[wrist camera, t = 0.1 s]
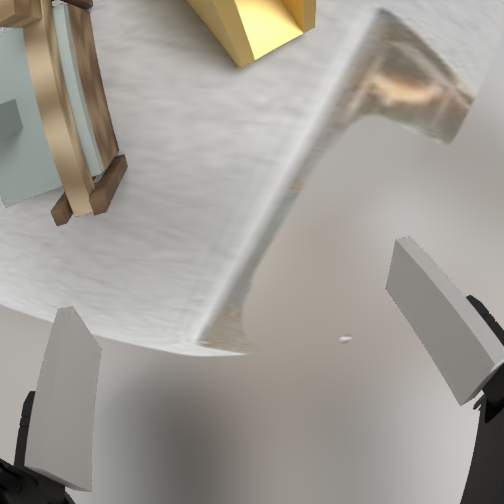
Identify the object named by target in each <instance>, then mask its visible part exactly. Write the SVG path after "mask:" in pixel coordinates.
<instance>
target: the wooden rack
mask: <svg viewBox="0 0 504 504" xmlns="http://www.w3.org/2000/svg"><path fill="white" fill-rule="evenodd" d="M51 1H54V0H51ZM61 1H64V2H66V3H69V4H67V5H68V12H69V20H70V26H71V33H72V39H73V45H74V50H75V56H76V61H77V66H78V71H79V76H80V80H81V85H82V89H83V93H84V98H85V102H86V106H87V110H88V114H89V118H90V121H91V125H92V129H93V133H94V136H95V140H96V143H97V147H98V150H99V153H100V157H101V160H102V163H103V167H104V170H106V169H107V167H108V166H109V164H110V163H111V161H112V160H113V158H114V157H115V155H116V154H117V152H118V151H119V148H118V145H117V141H116V137H115V133H114V130H113V126H112V122H111V118H110V114H109V110H108V106H107V101H106V97H105V93H104V88H103V84H102V79H101V74H100V70H99V65H98V59H97V54H96V49H95V43H94V38H93V32H92V25H91V19H90V12H88V11H86V10H83V9H85V8H88V7H90V6H93V3H92V0H61ZM73 5H74V6H73ZM53 7H54V6H52V8H53ZM78 7H79V8H78ZM127 167H128V165H127V162H126V158H125V155H120V156H117V157H115V158H114V160H113V161H112V163H111V164H110V166H109V167H108V169H107V170H106V172H105V173H104V175H103V177H102V178H101V180H100V181H99V182H97V183H94V186H95V190H94V191H93V193H92V195H91V196H90V198H89V202H90V205H91V208H92V210H93V213H94V215H98V214H101V213H105V212H106V211H107V209H108V207H109V205H110V202H111V200H112V198H113V196H114V194H115V192H116V189H117V187H118V185H119V183H120V181H121V179H122V177H123V175H124V173H125V171H126V169H127ZM96 176H97V175H96ZM96 176H93V177H92V180H93V181H94V179H95V178H96ZM51 214H52V216H53V219H54V221H55V223H56V225H57V226H60V225H63V224H66V223H68V221H69V219H70V217H71V216H72V214H73V211H72V208H71V206H70V203H69V201H68V198H67V195H66V193H65V192H64V194H63V195H62V196H61V198H60V199H59V200H58V202H57V203H56V205H55V206H54V207H53V209H52V210H51Z"/></svg>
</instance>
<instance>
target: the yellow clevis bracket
mask: <svg viewBox="0 0 504 504" xmlns="http://www.w3.org/2000/svg"><path fill="white" fill-rule="evenodd" d="M186 1H187V2H188V3H189V5H190V6H191V7H192V8H193V9H194V11H195V12H196V13H197V14H198V16H199V17H200V18H201V19H202V20H203V22H204V23H205V24H206V25H207V27H208V28H209V29H210V30H211V32H212V33H213V34H214V36H215V37H216V38H217V39H218V41H219V42H220V43H221V45H222V46H223V47H224V49H225V50H226V51H227V53H228V54H229V55H230V57H231V58H232V59H233V61H234V62H235V63H236V65H237V66H238V67H242V68H243V67H245V66H246V65H248V64H250V63H251V62H253V61H254V60H256V59H258V58H259V57H261V56H263V55H265V54H266V53H268V52H270V51H271V50H273V49H275V48H277V47H279V46H280V45H282V44H284V43H286V42H288V41H290V40H291V39H293V38H295V37H297V36H299V35H301V34H303V33H305V32H307V31H309V30H311V29H313V28H315V13H316V0H186Z"/></svg>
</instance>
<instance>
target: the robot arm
mask: <svg viewBox="0 0 504 504" xmlns="http://www.w3.org/2000/svg"><path fill="white" fill-rule="evenodd" d="M386 290H387V291H388V293H389V294H390V296H391V297H392V298H393V300H394V301H395V303H396V304H397V306H398V307H399V309H400V310H401V312H402V313H403V315H404V316H405V318H406V319H407V320H408V322H409V323H410V325H411V326H412V328H413V330H414V331H415V333H416V334H417V336H418V337H419V339H420V340H421V342H422V343H423V345H424V347H425V348H426V350H427V351H428V353H429V354H430V356H431V357H432V359H433V361H434V362H435V364H436V366H437V367H438V369H439V371H440V372H441V374H442V376H443V377H444V379H445V381H446V382H447V384H448V386H449V387H450V389H451V391H452V393H453V394H454V396H455V398H456V400H457V401H458V403H459V405H460V406H462V405H463V404H465V403H467V402H468V401H470V400H472V399H473V398H475V397H476V395H477V394H478V393H479V392H480V391H481V390H483V392H484V395H483V396H482V397H481V398H480V399H479V400H478V401H477V402H476V403H475V405H474V407H473V409H474V410H475V409H476V408H477V407H478V406H479V405H480V404H481V407H480V408H479V410H480V417H479V424H478V430H477V436H476V442H475V447H474V452H473V457H472V461H471V466H470V470H469V474H468V478H467V482H466V485H465V489H464V492H463V496H462V499H461V502H460V504H504V330H503V329H502V328H501V327H500V325H499V324H498V323H497V322H495V319H494V317H493V316H492V315H491V314H489V311H488V310H487V309H486V308H485V306H484V305H483V304H482V303H481V302H480V301H479V300H477V299H476V298H474V297H473V296H471V295H469V296H467V297H465V296H464V295H463V294H462V292H461V291H460V290H459V289H458V288H457V287H456V285H455V284H454V283H453V282H452V281H451V280H450V278H448V276H447V275H446V274H445V273H444V272H443V271H442V269H441V268H439V266H438V265H437V264H436V263H435V262H434V261H433V260H432V259H431V257H430V256H429V255H428V254H427V253H426V252H425V251H424V250H423V249H422V248H421V247H420V246H419V245H418V244H417V243H416V242H415V241H414V240H413V239H412V238H411V237H410V236H408V237H403V238H399V239H396V240H395V245H394V251H393V256H392V261H391V266H390V271H389V275H388V280H387V284H386ZM101 351H102V349H101V348H100V346H99V344H98V343H97V342H96V340H95V339H94V337H93V336H92V334H91V333H90V331H89V330H88V328H87V327H86V325H85V324H84V322H83V321H82V319H81V318H80V316H79V315H78V313H77V312H76V310H75V309H74V307H73V306H72V307H67V308H61V309H58V311H57V314H56V318H55V321H54V324H53V327H52V330H51V334H50V337H49V341H48V344H47V347H46V351H45V355H44V359H43V363H42V367H41V370H40V375H39V379H38V383H37V388H36V391H30V392H29V394H28V396H27V398H26V399H25V402H24V404H23V409H22V414H21V416H22V418H21V420H20V428H19V431H18V438H17V446H16V454H15V461H14V466H12V465H11V464H9V463H7V462H6V461H4V460H2V459H0V504H75V502H74V501H73V500H72V498H71V497H70V495H68V494H67V492H65V486H66V487H69V488H71V489H73V490H78V491H88V492H92V479H91V477H92V441H93V424H94V410H95V400H96V399H95V398H96V390H97V381H98V372H99V365H100V358H101Z"/></svg>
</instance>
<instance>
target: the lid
mask: <svg viewBox="0 0 504 504" xmlns="http://www.w3.org/2000/svg"><path fill="white" fill-rule="evenodd" d="M52 10H53V18H54V25H55V32H56V38H57V44H58V50H59V56H60V61H61V66H62V71H63V76H64V80H65V85H66V89H67V93H68V97H69V102H70V106H71V110H72V113H73V117H74V121H75V125H76V128H77V132H78V135H79V139H80V142H81V145H82V149H83V152H84V155H85V158H86V162H87V165H88V168H89V171H90V174H91V177H93V176H96V175H99V174H102V172H103V171H104V167H103V163H102V160H101V157H100V153H99V150H98V147H97V143H96V140H95V136H94V133H93V129H92V125H91V121H90V118H89V114H88V110H87V106H86V102H85V98H84V93H83V89H82V85H81V80H80V76H79V71H78V66H77V61H76V56H75V50H74V45H73V39H72V33H71V26H70V20H69V12H68V5H67V4H64V3H62V4H60V5H58V6H56V7H53V8H52ZM62 186H63V185H62V182H61V179H60V177H59V174H58V171H57V168H56V165H55V162H54V159H53V156H52V153H51V150H50V147H49V144H48V141H47V137H46V134H45V131H44V127H43V124H42V120H41V117H40V113H39V109H38V105H37V101H36V97H35V93H34V89H33V84H32V80H31V75H30V70H29V65H28V60H27V54H26V48H25V42H24V35H23V28H13V29H11V30H10V31H8V32H6V33H5V34H3V35H1V36H0V196H1V198H2V201H3V203H4V205H5V208H7V207H9V206H12V205H14V204H16V203H19V202H21V201H24V200H27V199H29V198H32V197H34V196H37V195H40V194H43V193H45V192H48V191H51V190H54V189H56V188H59V187H62Z"/></svg>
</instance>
